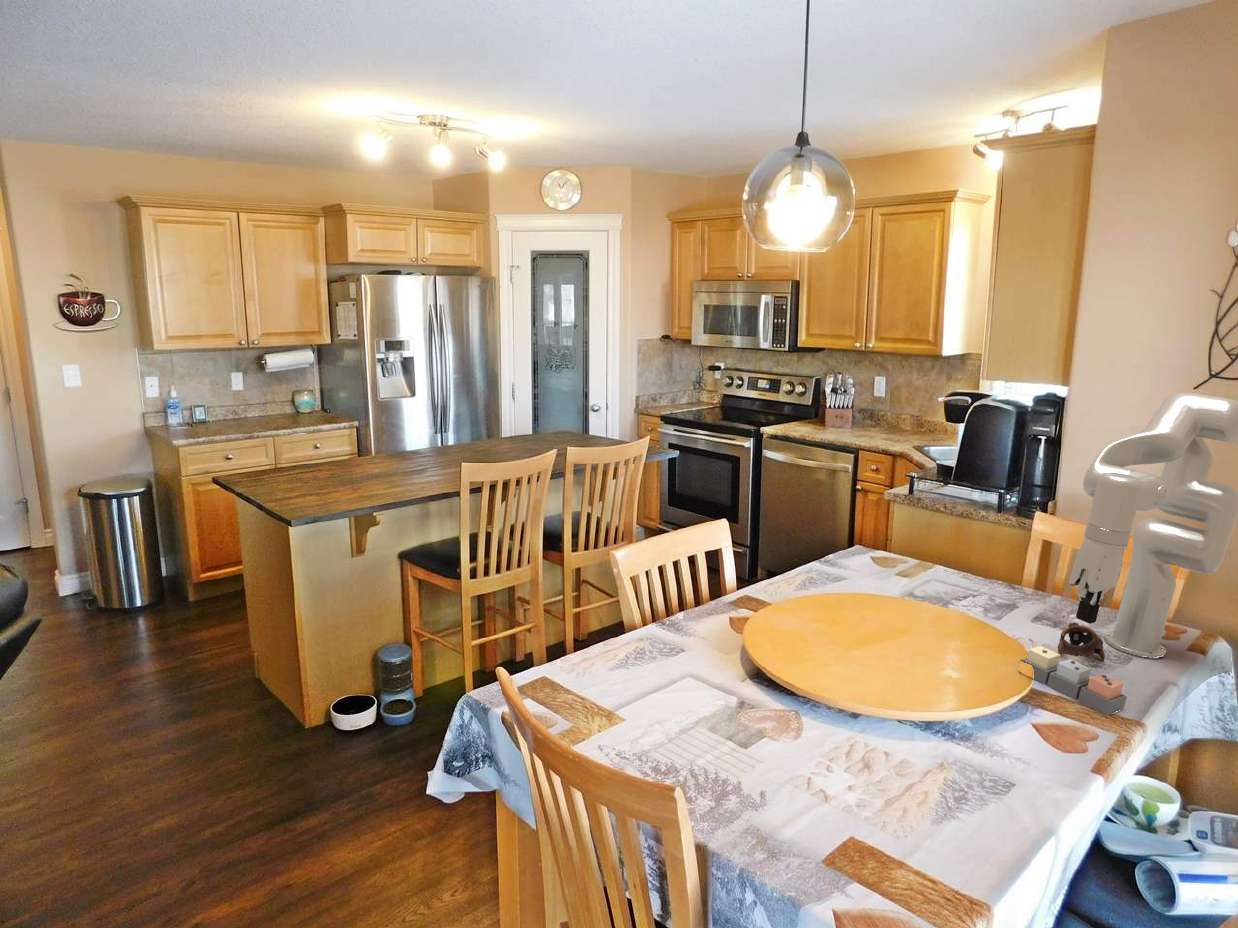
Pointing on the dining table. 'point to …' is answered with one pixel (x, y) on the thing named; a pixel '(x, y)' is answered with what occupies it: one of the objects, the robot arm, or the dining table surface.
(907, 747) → the dining table surface
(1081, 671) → the button two
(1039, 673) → the tile one base
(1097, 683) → the button three
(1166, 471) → the robot arm
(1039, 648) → the button one
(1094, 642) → the pottery mug
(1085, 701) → the tile base
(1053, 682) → the tile two base
